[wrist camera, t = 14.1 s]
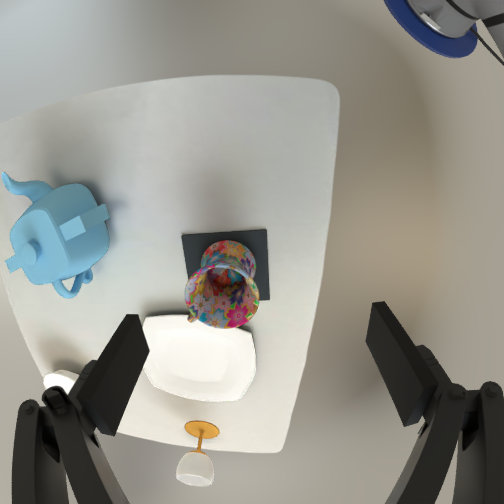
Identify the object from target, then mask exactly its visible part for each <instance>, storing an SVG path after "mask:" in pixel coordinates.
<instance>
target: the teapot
mask: <svg viewBox="0 0 504 504" xmlns="http://www.w3.org/2000/svg"><path fill="white" fill-rule="evenodd" d="M2 180H3V183H4V185H5V187H6V188H7V190H8V191H9V192H11V193H12V194H15V195H25V196H27V197H28V198H29V199H30V200H31V201H32V202H33V204H32V205H31V206H30V207H29V208H28V209H27V210H26V211H25V212H24V213H23V215H22V216H21V217H20V218H19V219H18V221H17V222H16V223H15V225H14V226H13V227H12V229H11V232H10V241H11V244H12V247H13V249H14V252H15V255H14V256H12V257H11V258H9V259H7V260H6V261H5V262H6V264H7V266H8V269H9V271H10V273H11V272H13V271H15V270H17V269H19V268H21V267H22V269H23V271H24V273H25V274H26V276H27V278H28V279H29V281H30V282H31V283H33V284H35V285H42V284H48V283H52V284H53V286H54V288H55V290H56V291H57V293H58V294H59V295H60V296H62V297H64V298H73V297H75V296H76V295H77V294H78V292H79V290H80V288H81V285H82V283H84V284H87V283H89V282H91V280H92V278H93V274H92V271H91V269H90V267H91V266H93V265H94V264H95V263H96V262H98V261H99V260H100V259H101V258H102V257H103V256H104V254H105V253H106V251H107V250H108V247H109V233H108V230H107V227H106V224H105V222H104V221H105V220H107V219H109V218H110V216H109V213H108V211H107V208H106V206H105V203H104V204H102V205H100V206H98V205H97V203H96V201H95V199H94V197H93V195H92V193H91V192H90V190H89V189H88V188H87V187H85V186H83V185H81V184H76V183H73V184H67V185H64V186H61V187H58V188H56V189H53V188H52V187H50V186H49V185H48V184H47V183H45V182H42V181H28V182H17V181H14V180H12V179H11V178H10V177H9V176H8V175H7V174H6V173H5V172H2ZM74 276H76V278H75V281H74V284H73V287H72V289H71V291H68V290H67V289H66V288H65V286H64V285H63V283H62V280H66V279H69V278H71V277H74Z"/></svg>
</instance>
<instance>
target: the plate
mask: <svg viewBox="0 0 504 504" xmlns="http://www.w3.org/2000/svg"><path fill="white" fill-rule="evenodd" d="M187 317H188V315H186V314H181V315H160V316H150V317H145V320H144V323H143V327H142V328H143V331H144V335H145V338H146V341H147V344H148V347H149V350H150V352H149V355H148V357H147V359H146V361H145V364H144V366H143V368H144V370H145V372H146V374H147V376H148V378H149V380H150V382H151V383H152V385H153V386H154V387H156V388H159V389H161V390H164V391H166V392H169V393H171V394H174V395H177V396H180V397H184V398H188V399H192V400H199V401H232V400H240V398H241V397H242V396H243V395H244V393H245V392H246V390H247V389H248V387H249V386H250V384H251V382H252V380H253V378H254V375H255V372H256V354H255V348H254V343H253V339H252V335H251V333H250V332H247V331H245V330H242V329H240V328H237V327H235V328H230V329H219V328H214V327H211V326H208V325H206V324H204V323H202V322H200V321H199V320H198V319H197V320H196V321H194V322H192V323H190V322H189V321H188V320H187Z"/></svg>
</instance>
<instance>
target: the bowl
mask: <svg viewBox="0 0 504 504" xmlns="http://www.w3.org/2000/svg"><path fill="white" fill-rule="evenodd" d="M78 377H79V375H78V374H75V373H72V372H69V371H66V370H57V371H55V372H51V373H47V374H45V376H44V380H43V382H44V386H45V389H46V390H47V389H48V388H50V387H52V386H61V387H62V388H63V389H64V390H65V392H66V393H67V395H68V393H69V391H70V390H71V388H72V386H73V385H74V383H75V382H76V380H77V379H78Z"/></svg>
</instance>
